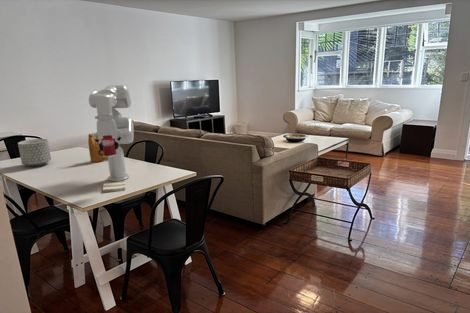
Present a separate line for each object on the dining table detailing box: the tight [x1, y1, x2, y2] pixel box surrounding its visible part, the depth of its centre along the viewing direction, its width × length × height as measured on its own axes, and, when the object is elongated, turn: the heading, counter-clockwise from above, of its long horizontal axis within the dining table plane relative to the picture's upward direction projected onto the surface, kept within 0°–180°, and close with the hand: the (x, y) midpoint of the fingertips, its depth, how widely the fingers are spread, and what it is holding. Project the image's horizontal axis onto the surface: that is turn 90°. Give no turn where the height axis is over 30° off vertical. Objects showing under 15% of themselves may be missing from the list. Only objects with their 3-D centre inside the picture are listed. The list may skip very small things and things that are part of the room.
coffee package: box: [87, 132, 108, 163], centre depth 250 cm, size 10×12×22 cm
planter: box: [17, 138, 52, 168], centre depth 243 cm, size 19×19×18 cm
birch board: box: [102, 180, 126, 194], centre depth 191 cm, size 12×12×2 cm
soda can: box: [101, 135, 117, 157], centre depth 182 cm, size 7×7×12 cm
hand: (109, 149), depth 183 cm, fingers closed on soda can, 7 cm apart
